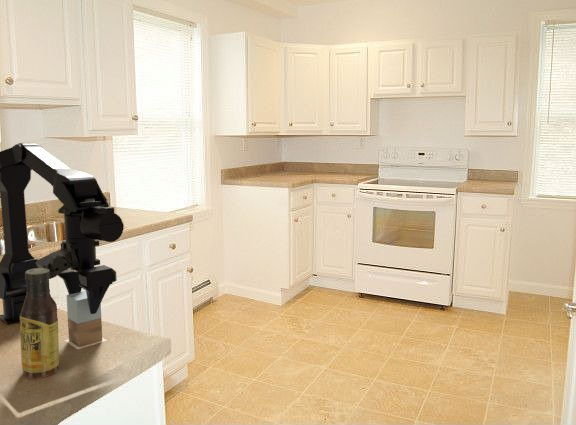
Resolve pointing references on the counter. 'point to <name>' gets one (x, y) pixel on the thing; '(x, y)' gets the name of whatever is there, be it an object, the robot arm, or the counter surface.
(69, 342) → the pad
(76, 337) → the walnut block
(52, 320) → the sauce bottle
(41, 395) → the counter surface
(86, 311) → the bluegrey block
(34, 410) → the counter surface
